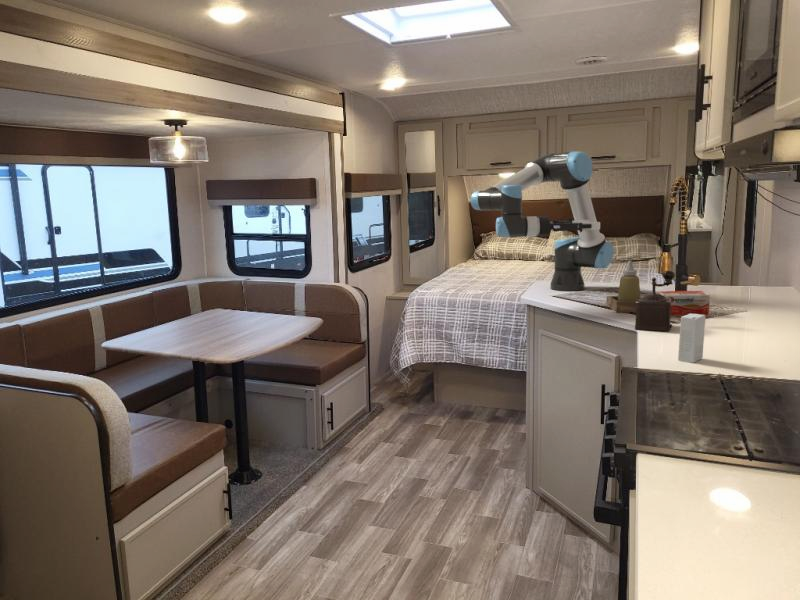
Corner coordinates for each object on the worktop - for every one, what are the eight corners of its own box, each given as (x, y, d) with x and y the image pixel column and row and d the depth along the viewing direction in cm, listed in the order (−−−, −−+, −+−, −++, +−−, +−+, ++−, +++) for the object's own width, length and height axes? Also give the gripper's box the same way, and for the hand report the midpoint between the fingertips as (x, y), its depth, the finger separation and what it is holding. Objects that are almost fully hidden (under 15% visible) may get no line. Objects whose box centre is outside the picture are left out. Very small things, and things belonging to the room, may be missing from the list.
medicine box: (664, 317, 220) (665, 294, 218) (657, 312, 228) (658, 291, 226) (709, 316, 218) (710, 294, 216) (701, 312, 226) (702, 290, 224)
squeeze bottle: (612, 307, 236) (614, 260, 233) (628, 305, 240) (630, 259, 236) (628, 311, 229) (630, 262, 226) (644, 308, 232) (646, 261, 229)
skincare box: (686, 356, 169) (688, 312, 167) (703, 358, 166) (706, 314, 164) (677, 360, 165) (679, 316, 163) (694, 363, 162) (696, 318, 160)
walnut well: (606, 306, 241) (606, 296, 240) (640, 305, 241) (640, 295, 240) (616, 312, 228) (617, 302, 228) (652, 312, 228) (653, 301, 227)
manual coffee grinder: (671, 332, 197) (674, 276, 193) (634, 329, 201) (636, 275, 198) (673, 322, 210) (675, 269, 207) (638, 320, 215) (640, 268, 212)
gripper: (531, 234, 246) (585, 232, 245) (544, 239, 221) (604, 237, 221) (531, 214, 244) (585, 213, 244) (544, 217, 220) (604, 216, 219)
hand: (594, 224), depth 232 cm, fingers open, 13 cm apart
